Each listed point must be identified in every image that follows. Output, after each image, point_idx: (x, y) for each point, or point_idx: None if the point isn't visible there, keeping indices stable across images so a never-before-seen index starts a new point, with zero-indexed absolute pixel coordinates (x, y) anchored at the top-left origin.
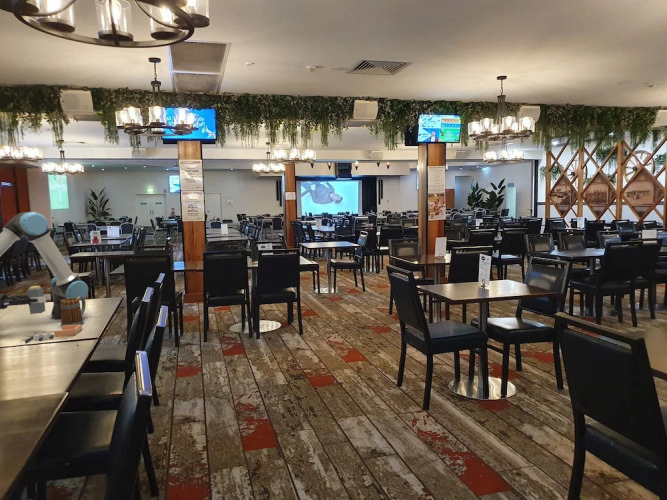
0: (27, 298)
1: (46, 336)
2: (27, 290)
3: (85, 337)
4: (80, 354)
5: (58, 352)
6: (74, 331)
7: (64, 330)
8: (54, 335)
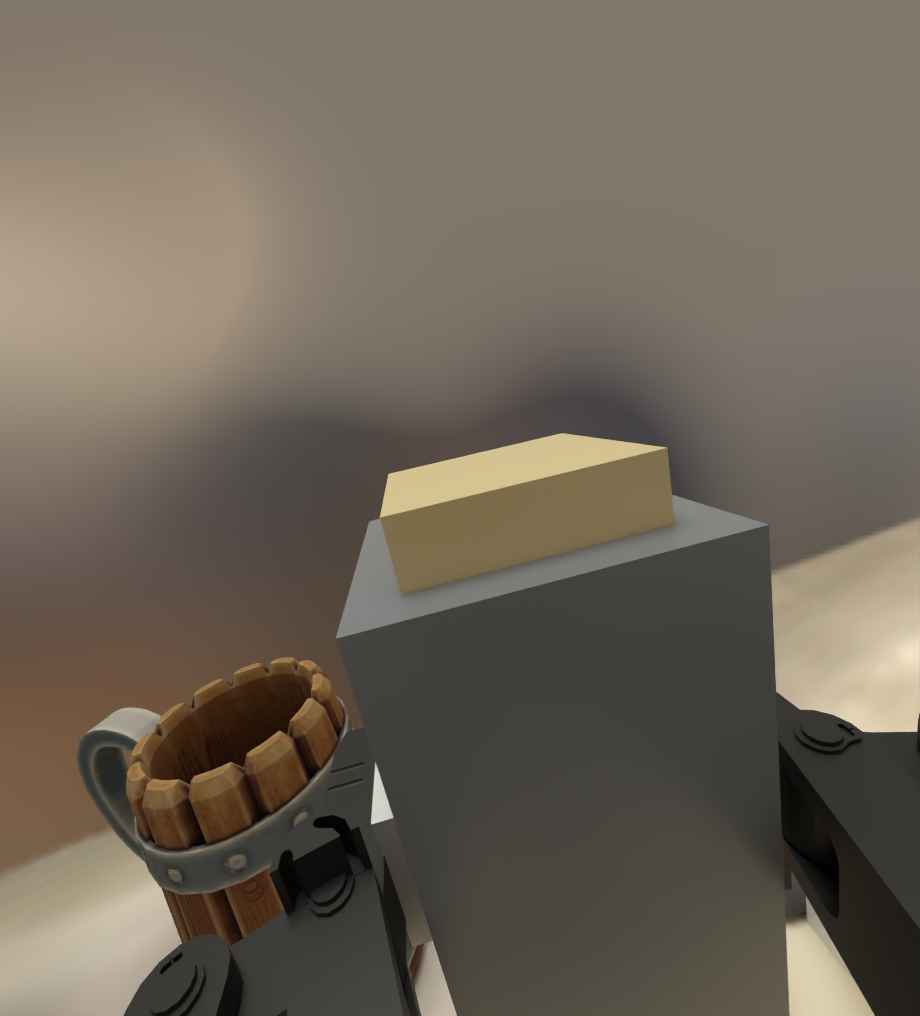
0: (837, 768)
1: None
2: (759, 537)
3: None
4: (825, 571)
5: (889, 637)
6: None
7: None
8: None
